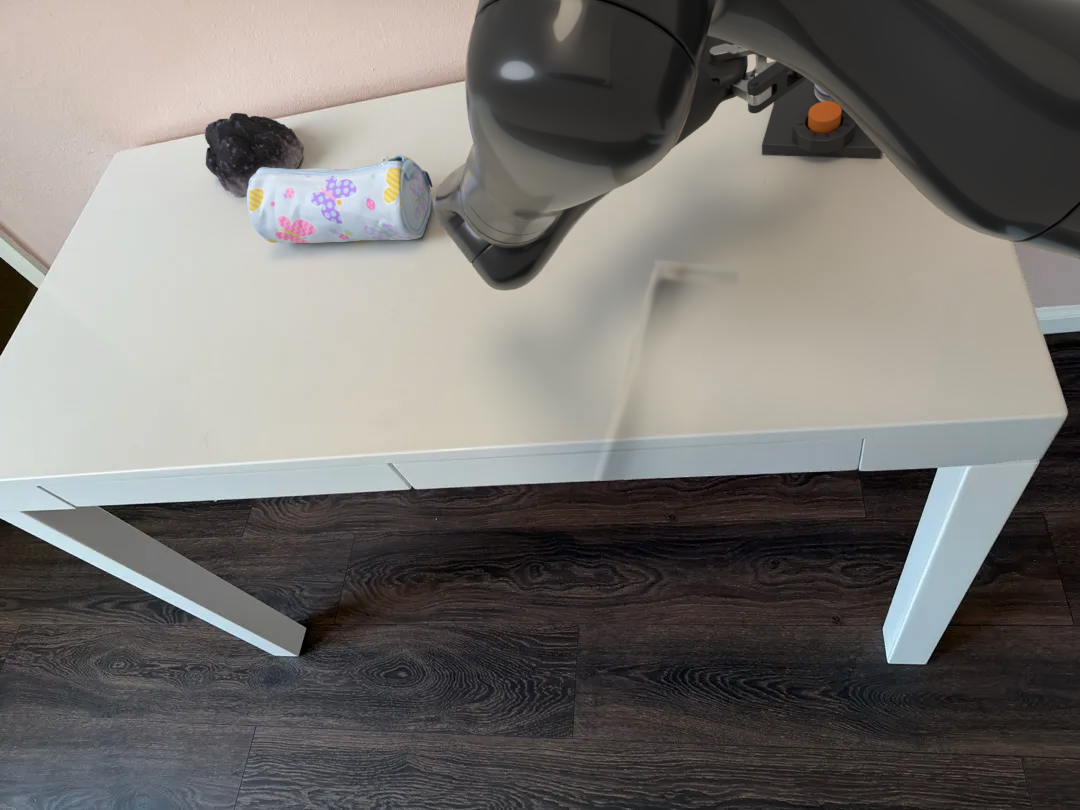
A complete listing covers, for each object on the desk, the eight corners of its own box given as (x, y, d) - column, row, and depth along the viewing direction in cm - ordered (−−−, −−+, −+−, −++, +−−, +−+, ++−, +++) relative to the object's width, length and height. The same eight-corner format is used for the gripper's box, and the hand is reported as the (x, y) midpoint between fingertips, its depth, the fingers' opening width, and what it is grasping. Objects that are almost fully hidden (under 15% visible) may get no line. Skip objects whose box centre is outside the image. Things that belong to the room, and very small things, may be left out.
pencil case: (444, 200, 92) (415, 135, 85) (427, 254, 88) (395, 190, 80) (294, 211, 98) (254, 151, 91) (271, 262, 94) (227, 204, 86)
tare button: (842, 114, 80) (843, 101, 79) (838, 134, 79) (839, 121, 78) (810, 113, 82) (811, 100, 80) (805, 133, 80) (806, 121, 79)
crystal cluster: (250, 137, 112) (203, 82, 104) (324, 130, 106) (279, 70, 98) (211, 208, 106) (157, 155, 98) (286, 204, 101) (235, 147, 92)
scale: (896, 73, 86) (900, 48, 83) (879, 165, 79) (882, 142, 76) (785, 73, 90) (785, 50, 88) (759, 161, 83) (759, 138, 81)
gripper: (702, 103, 58) (851, -9, 61) (583, 45, 66) (719, -52, 69) (709, 180, 64) (844, 74, 67) (599, 119, 72) (724, 27, 75)
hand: (781, 11), depth 68 cm, fingers open, 8 cm apart
